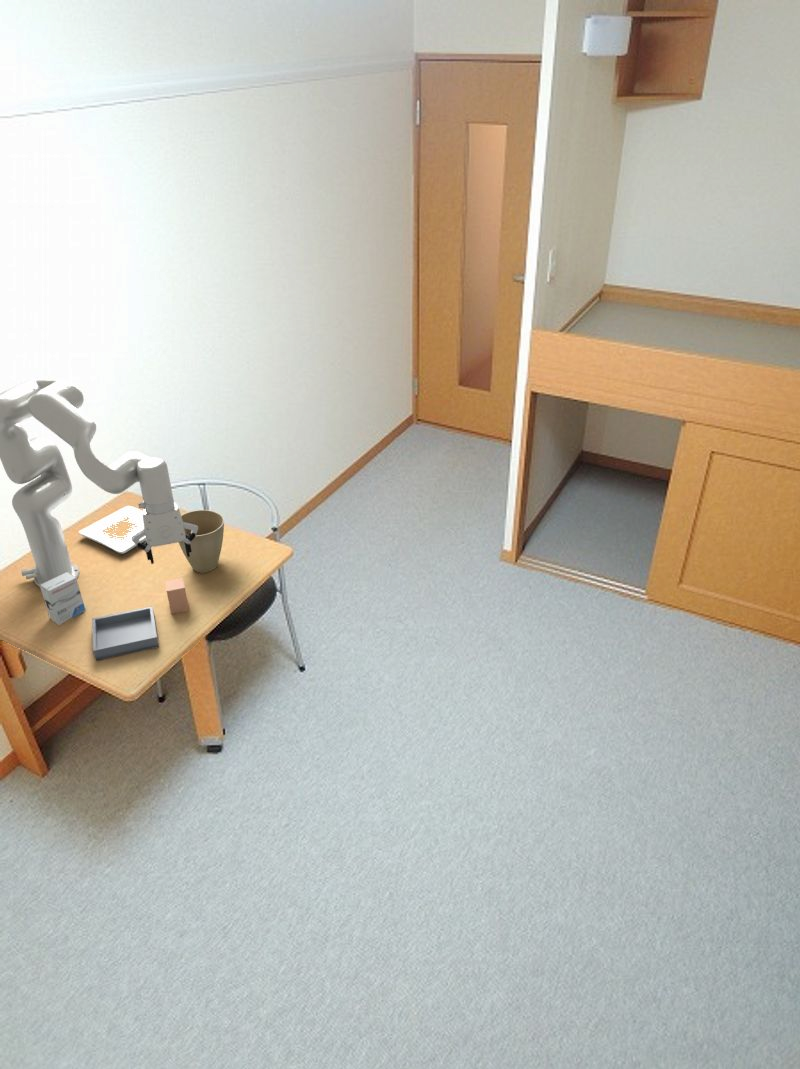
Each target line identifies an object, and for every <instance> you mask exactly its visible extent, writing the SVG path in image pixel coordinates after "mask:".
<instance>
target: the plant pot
mask: <svg viewBox="0 0 800 1069" xmlns="http://www.w3.org/2000/svg"><path fill="white" fill-rule="evenodd" d="M181 516H182V520H183V522H186V523H190V524H194V525H197V526H198V531H197V533H196V536H195V538H194V539H193V540H192V541H191V544H190V545H191V551H192V552H189V554H190V557H187V553H186V548H185V543H184V541H181V542H178V545H179V546H180V549H181V550H182V553H183V554H184V556H185V559H186V560H187V561H188V563H189V565H190V566H191V567H192V570H194V571H195V572H198V573H208V572H209V573H210V572H212V571H213V570H215V569H216V568H217V566H218V564H219V560H220V556H221V553H222V552H221V551H222V547H223V541H224V534H225V533H224V530H225V518H224V516H223V515H222V514H221V513H219V512H217V511H214V510H209V509H197V510H192V511H191V510H190V511H187V512H185V513H183V514H181ZM191 531H192V530H190V529H185V533H186V534H187V535H189V533H190V532H191Z"/></svg>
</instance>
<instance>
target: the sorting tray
mask: <svg viewBox="0 0 800 1069" xmlns="http://www.w3.org/2000/svg"><path fill="white" fill-rule="evenodd" d="M91 625H92V626H91V628H92V630H91V632H92V652H93V656H94V658H95V661H102V660H106V659H111V658H115V657H118V656H119V657H121V656H125V655H130V654H134V653H139V652H143V651H147V650H152V649H157V648H160V645H159V644H160V643H159V639H158V638H159V637H158V631H157V624H156V616H155V612H154V606H152V605H151V606H148V607H142V608H136V609H133V610H128V611H121V612H117V613H113V614H107V615H104V616H103V615H102V616H97V617H92V618H91Z"/></svg>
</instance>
